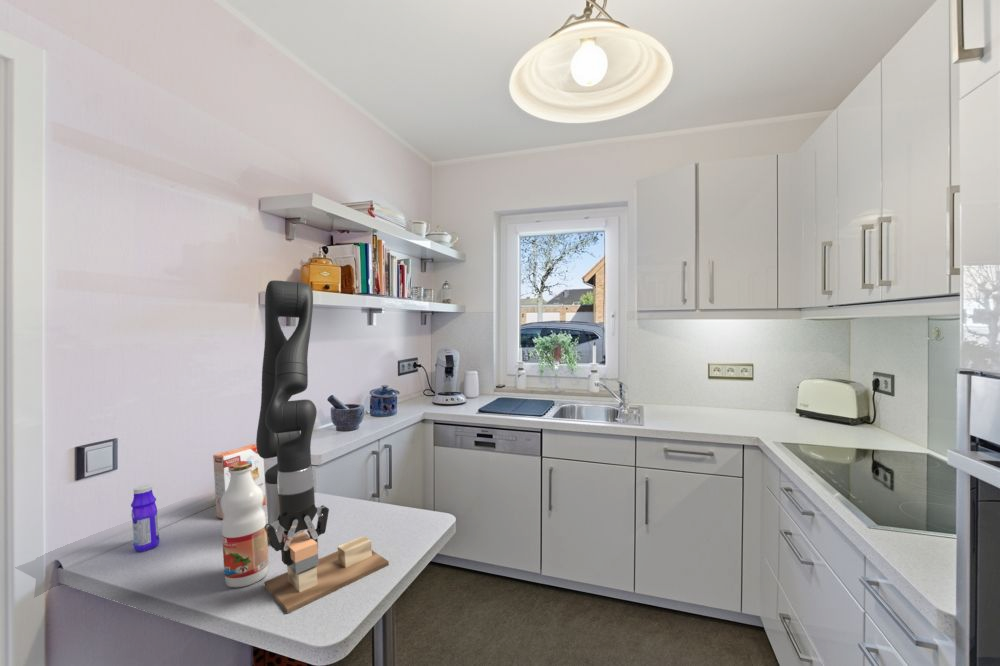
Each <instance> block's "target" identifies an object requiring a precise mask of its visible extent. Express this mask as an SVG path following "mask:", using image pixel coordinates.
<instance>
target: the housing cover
mask: <svg viewBox="0 0 1000 666" xmlns="http://www.w3.org/2000/svg"><path fill="white" fill-rule="evenodd" d="M304 532H305V531H304ZM304 532H303V533H301V534H298V535H295V536H293V539H292V540H291V543H290V547H289V549H290V555H291V559H292V560H293V561H294V562H295V563H297V562H299V561H302V560H304V559H306V558H309V557H311V556H314V555H316V554H318V555H319V544H318V545H317V542H315V541H314V540H313V539H312V538H311V537H310V536H309V534H308V533H304Z"/></svg>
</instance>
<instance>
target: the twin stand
mask: <svg viewBox="0 0 1000 666" xmlns="http://www.w3.org/2000/svg"><path fill="white" fill-rule="evenodd" d="M372 549H373V548H372V540H370V539H369V538H368V537H366V536H364V535H362V536H359V537H357V538H354V539H352V540H350V541H348V542H344V543H343V544H340V545H338V546H337V551H335V552H332V553H330V554H327V555H325V556H322V557H320V558H318V561H319V565H316V566H314V567H312V568H309V569H307V570H305V571H302V572H300V573H297V574H296V573H295V572H294V571H293V570H292V569H291V568H290V567H289V566H287V565H286V566H287V567H286V568H287V572H284V573H282V574H280V575H277V576H275V577H272V578H270V579H268V580H265V581H264V583H263V585H264V587H265V588H266V590H267V591H268V592H269V594H270V595H271V596H272V597H273V598H274V600H276V602H277V603H278V604H279V605H280V606H281V608H282V609H283V610H284V611H285V612H286V614H290V613H292V612H294V611H296V610H298V609H301V608H303V607H304V606H306V605H307V606H308V605H309V604H312V603H313V602H315V601H317V600H319V599H321V598H323V597H326V596H327V595H328V596H329V594H332V593H334V592H336V591H337V590H339V589H342V588H344V587H347V586H349V585H350V584H353V583H354V582H356V581H358V580H361V579H363V578H365V577H367V576H369V575H371V574H373V573H376V572H377V571H379V570H382V569H383V568H386V567H387V566H389V563H390V562H389V560H388V559H386V558H384V557H383V556H382V555H380V554H378V552H375V551H374V550H372Z"/></svg>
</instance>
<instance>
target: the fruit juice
mask: <svg viewBox="0 0 1000 666" xmlns="http://www.w3.org/2000/svg"><path fill="white" fill-rule="evenodd" d="M251 469H252V462H251V461H240V462H235V463H232V464H230V465H229V473H230V474H231V477H230V482H229V486H228V488H227V490H226V492H225V493H224V495H223V496H222V499H221V510H222V512H223V514H224V518H223V519H222V521H221V542H222V543H221V544H222V556H223V568H224V569H223V570H224V580H225V584H226V586H228V587H230V588H242V587H247V586H250V585H253V584H255V583H257V582H260V581H261V580H262V579H264V578H265V577H266V576H267V575H268V573H269V570H270V560H269V559H270V557H269V544H268V543H269V540H268V535H267V533H266V530H265V525H266V524H267V518H266V512H265V510H264V508H263V501H264V494H263V490H262V489H261V488H260V487H259V486H258V485H257V484H256V483H255V481H254V479H253V477H252V474H251Z"/></svg>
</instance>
